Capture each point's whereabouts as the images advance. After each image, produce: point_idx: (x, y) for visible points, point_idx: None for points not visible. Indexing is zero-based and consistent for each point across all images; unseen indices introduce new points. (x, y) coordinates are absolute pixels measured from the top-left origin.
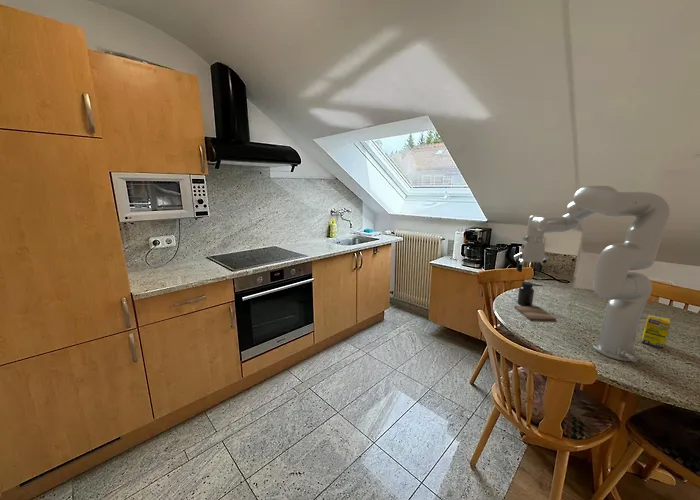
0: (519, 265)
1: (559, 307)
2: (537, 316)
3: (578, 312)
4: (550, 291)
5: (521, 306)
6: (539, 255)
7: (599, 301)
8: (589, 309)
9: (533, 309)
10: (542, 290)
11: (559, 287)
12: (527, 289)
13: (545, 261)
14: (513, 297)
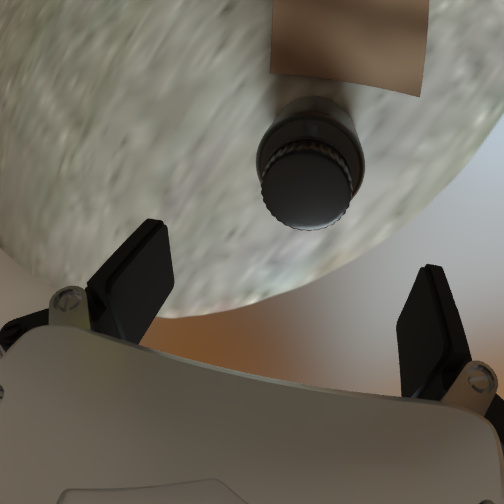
0: (466, 358)
1: (143, 90)
2: None
3: (97, 42)
4: None
5: (380, 82)
6: (31, 499)
7: (4, 171)
8: (46, 88)
9: (331, 32)
10: None
11: None
12: (331, 135)
13: (16, 326)
14: None
